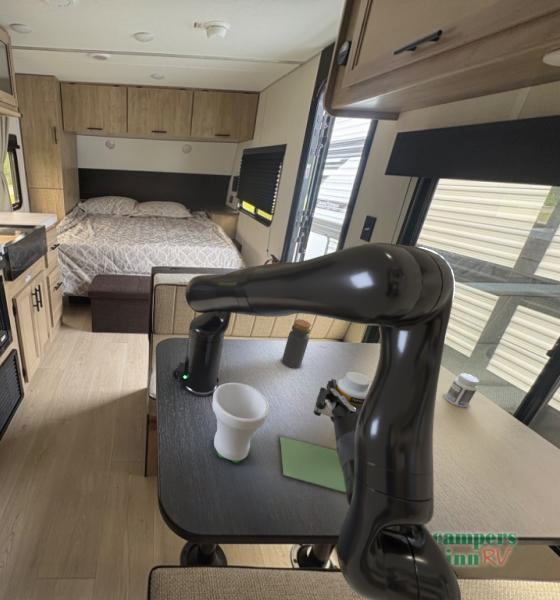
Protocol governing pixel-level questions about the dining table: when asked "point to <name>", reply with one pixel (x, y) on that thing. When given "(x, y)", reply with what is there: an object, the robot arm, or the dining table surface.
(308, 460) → the cloth
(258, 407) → the cup
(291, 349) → the bottle
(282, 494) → the dining table surface
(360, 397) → the supplement bottle
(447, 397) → the pill bottle
